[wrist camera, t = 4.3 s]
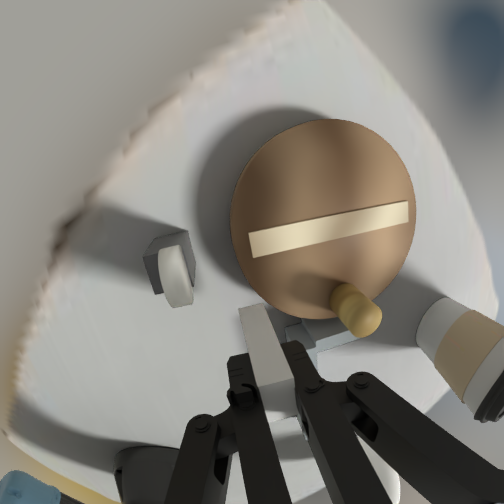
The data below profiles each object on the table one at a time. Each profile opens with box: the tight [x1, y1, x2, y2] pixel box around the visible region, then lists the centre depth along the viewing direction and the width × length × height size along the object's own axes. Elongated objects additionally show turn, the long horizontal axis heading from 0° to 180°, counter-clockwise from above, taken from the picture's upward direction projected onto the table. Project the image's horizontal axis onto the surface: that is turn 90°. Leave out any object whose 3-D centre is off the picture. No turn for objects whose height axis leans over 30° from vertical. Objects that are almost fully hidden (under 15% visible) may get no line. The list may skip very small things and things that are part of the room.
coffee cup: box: [416, 297, 504, 423], centre depth 19 cm, size 9×9×15 cm
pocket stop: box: [285, 317, 360, 440], centre depth 23 cm, size 6×14×4 cm, turn 10°
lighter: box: [143, 231, 196, 308], centre depth 16 cm, size 2×3×7 cm
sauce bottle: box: [357, 437, 400, 504], centre depth 22 cm, size 8×8×18 cm
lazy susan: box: [230, 119, 416, 338], centre depth 17 cm, size 14×14×5 cm
